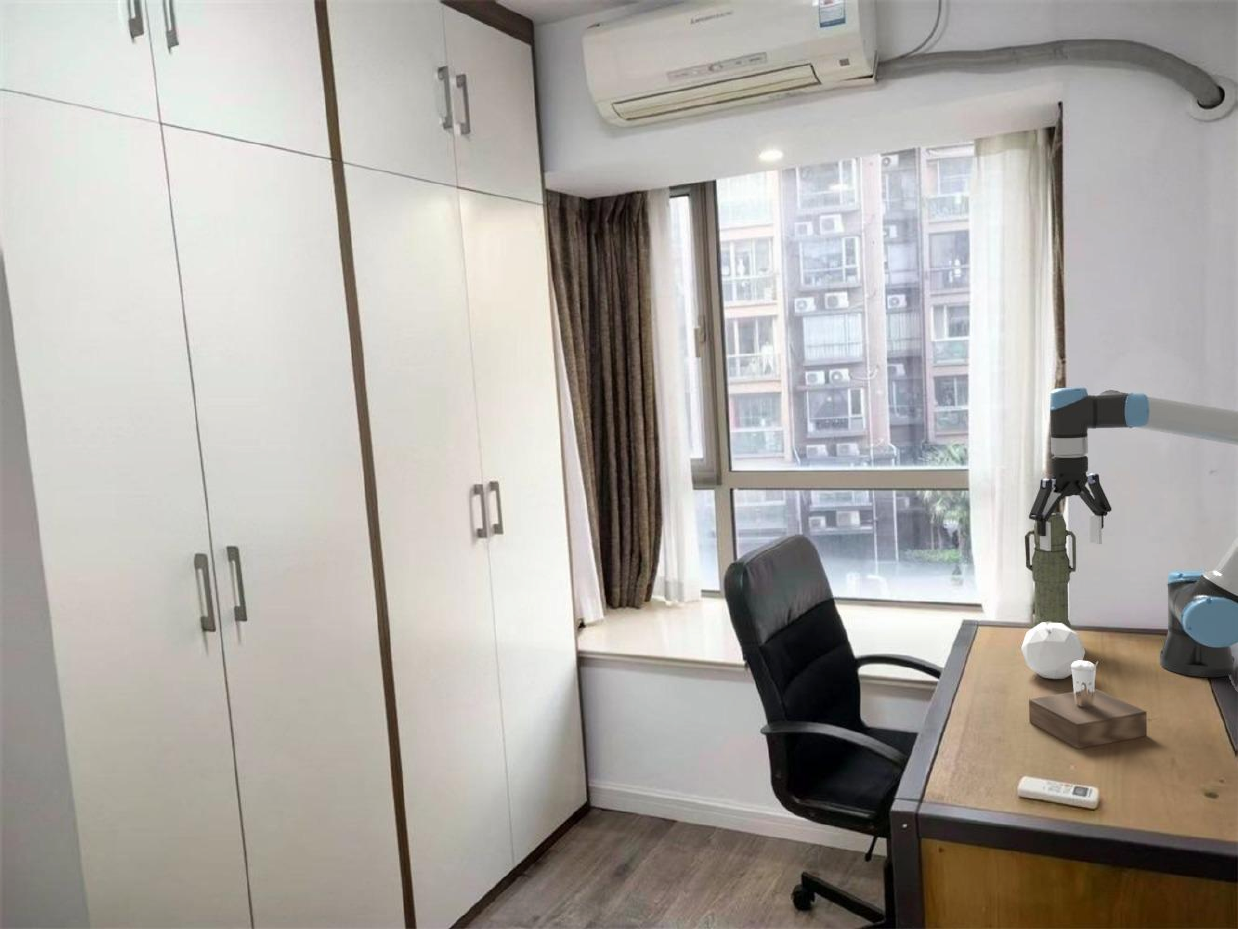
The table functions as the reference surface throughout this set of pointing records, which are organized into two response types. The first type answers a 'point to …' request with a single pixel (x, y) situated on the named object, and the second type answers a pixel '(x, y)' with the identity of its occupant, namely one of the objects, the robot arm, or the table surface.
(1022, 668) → the table surface
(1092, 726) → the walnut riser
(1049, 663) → the geodesic sphere
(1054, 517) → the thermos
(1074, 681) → the milkshake
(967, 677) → the table surface
